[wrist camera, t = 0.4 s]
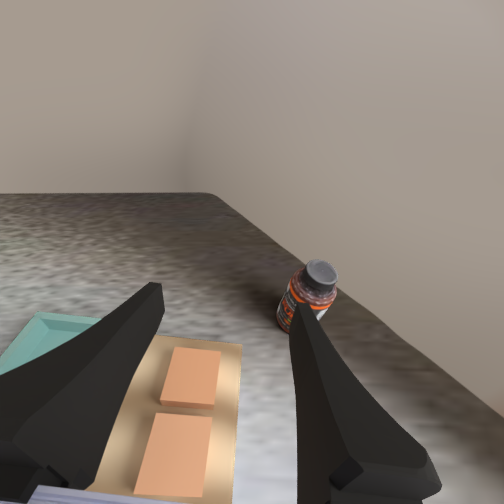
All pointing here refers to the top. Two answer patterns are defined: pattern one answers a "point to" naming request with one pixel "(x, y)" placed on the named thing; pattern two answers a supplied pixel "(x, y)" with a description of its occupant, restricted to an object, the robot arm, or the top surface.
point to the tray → (43, 337)
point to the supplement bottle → (309, 291)
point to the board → (148, 404)
